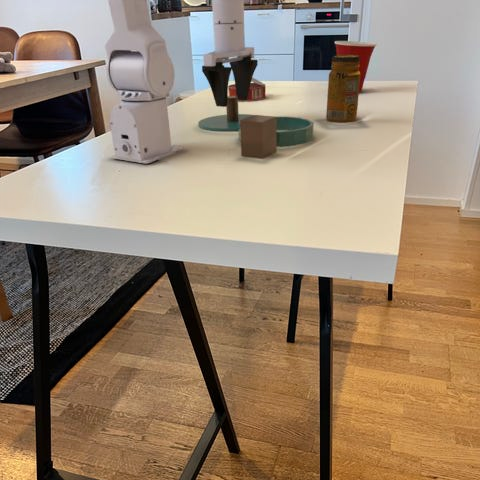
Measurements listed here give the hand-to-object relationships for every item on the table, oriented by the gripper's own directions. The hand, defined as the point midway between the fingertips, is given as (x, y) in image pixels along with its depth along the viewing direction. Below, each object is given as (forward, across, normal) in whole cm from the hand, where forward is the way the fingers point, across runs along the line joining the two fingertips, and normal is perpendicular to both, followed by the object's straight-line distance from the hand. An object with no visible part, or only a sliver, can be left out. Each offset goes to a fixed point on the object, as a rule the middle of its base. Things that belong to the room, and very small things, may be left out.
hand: (232, 102), depth 96 cm
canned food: (+5, +31, +16) cm, 35 cm away
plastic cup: (+5, +49, -6) cm, 50 cm away
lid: (+4, 0, 0) cm, 4 cm away
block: (+4, -18, -17) cm, 25 cm away
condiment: (+5, +11, -19) cm, 22 cm away
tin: (+4, -7, -14) cm, 16 cm away
